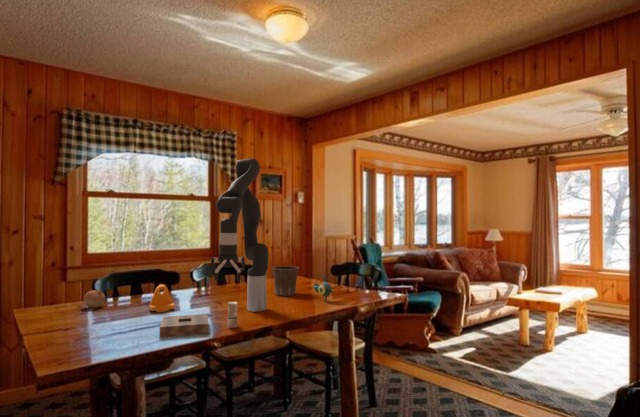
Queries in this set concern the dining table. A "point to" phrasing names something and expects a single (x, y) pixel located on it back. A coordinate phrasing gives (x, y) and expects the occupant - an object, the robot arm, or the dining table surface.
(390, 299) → the dining table surface
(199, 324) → the board
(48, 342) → the dining table surface
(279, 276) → the plant pot
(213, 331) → the dining table surface
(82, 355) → the dining table surface
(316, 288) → the decorative fish
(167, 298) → the bracket
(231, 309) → the peg
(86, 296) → the onion
